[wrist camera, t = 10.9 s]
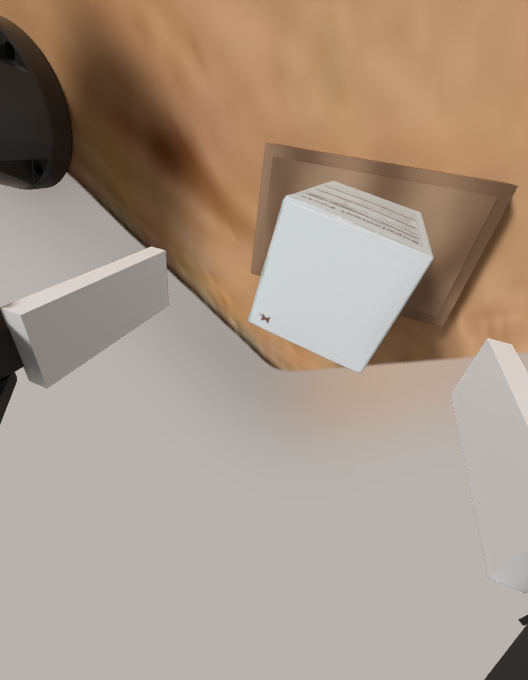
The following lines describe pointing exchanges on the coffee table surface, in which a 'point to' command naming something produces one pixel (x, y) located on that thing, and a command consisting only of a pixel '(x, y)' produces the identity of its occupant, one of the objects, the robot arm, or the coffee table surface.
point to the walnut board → (406, 190)
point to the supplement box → (340, 271)
